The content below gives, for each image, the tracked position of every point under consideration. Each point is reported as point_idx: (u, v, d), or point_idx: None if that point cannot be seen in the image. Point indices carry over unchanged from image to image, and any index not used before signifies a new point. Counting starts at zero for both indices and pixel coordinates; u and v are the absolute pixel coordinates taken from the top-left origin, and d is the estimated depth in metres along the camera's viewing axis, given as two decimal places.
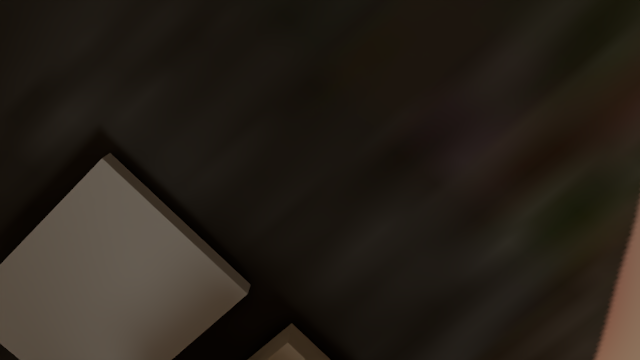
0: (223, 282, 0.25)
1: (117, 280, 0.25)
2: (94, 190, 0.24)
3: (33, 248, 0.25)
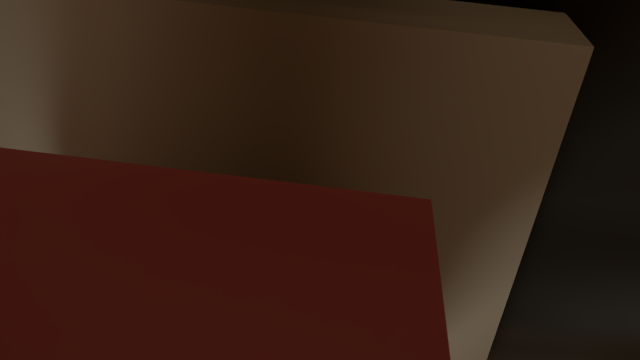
0: None
1: None
2: None
3: None
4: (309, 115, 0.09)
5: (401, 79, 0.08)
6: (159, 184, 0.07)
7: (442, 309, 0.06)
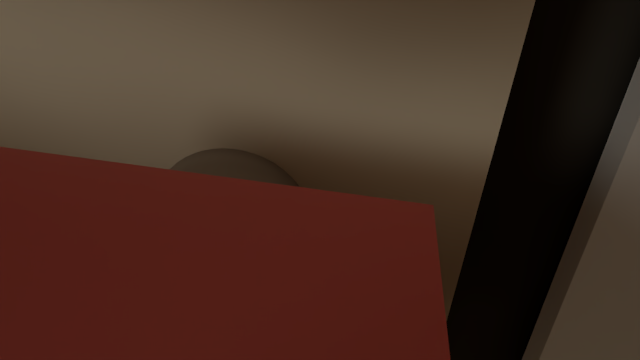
0: None
1: None
2: None
3: None
4: None
5: None
6: (162, 186, 0.07)
7: (443, 314, 0.06)
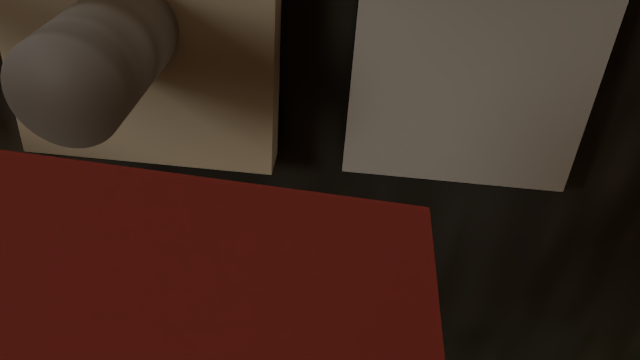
0: (371, 165, 0.22)
1: (476, 89, 0.20)
2: (555, 160, 0.21)
3: (593, 55, 0.19)
4: (228, 75, 0.20)
5: (250, 111, 0.20)
6: (158, 188, 0.07)
7: (438, 317, 0.06)
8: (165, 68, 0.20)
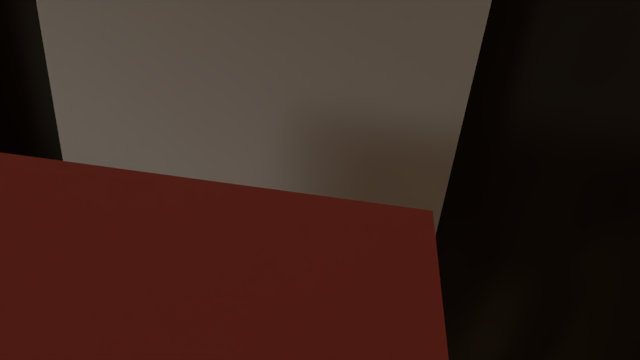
0: None
1: None
2: None
3: (418, 201, 0.12)
4: None
5: None
6: (161, 192, 0.07)
7: (442, 321, 0.06)
8: None
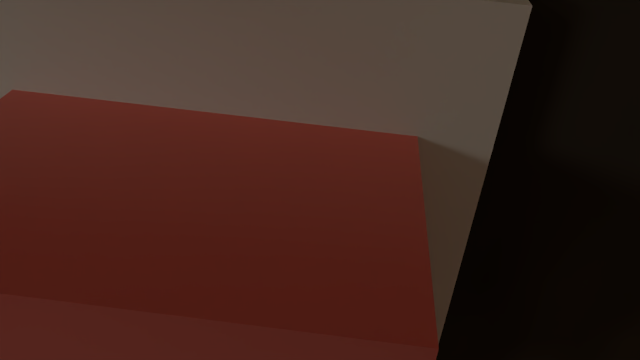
0: None
1: None
2: None
3: None
4: None
5: None
6: (193, 122, 0.08)
7: (423, 208, 0.07)
8: None
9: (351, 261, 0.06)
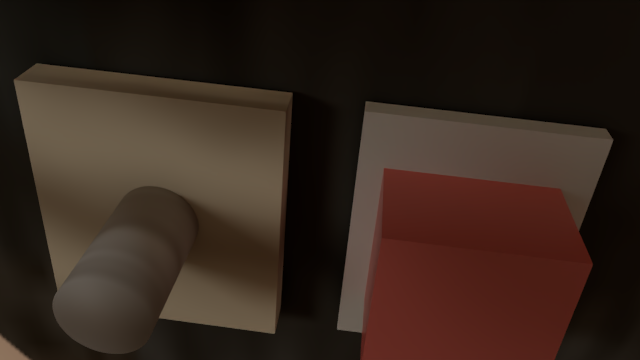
0: (362, 326, 0.25)
1: None
2: None
3: None
4: (239, 259, 0.23)
5: (257, 286, 0.23)
6: (467, 183, 0.20)
7: (573, 219, 0.19)
8: None
9: (555, 238, 0.18)
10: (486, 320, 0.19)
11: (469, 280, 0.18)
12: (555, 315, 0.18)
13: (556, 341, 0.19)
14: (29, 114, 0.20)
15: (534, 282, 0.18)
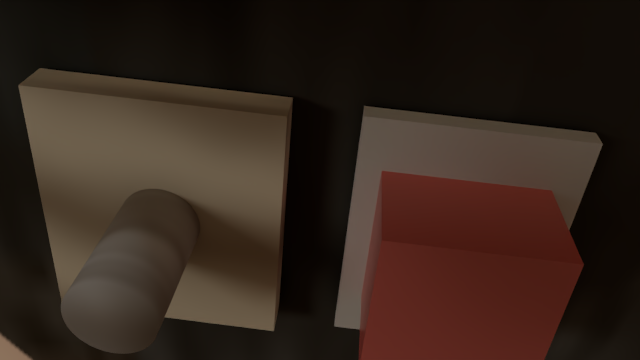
0: (359, 323, 0.25)
1: None
2: None
3: None
4: (239, 259, 0.23)
5: (257, 285, 0.24)
6: (462, 185, 0.21)
7: (564, 221, 0.20)
8: None
9: (547, 239, 0.19)
10: (481, 318, 0.19)
11: (465, 280, 0.18)
12: (547, 313, 0.19)
13: (548, 337, 0.19)
14: (33, 118, 0.21)
15: (527, 282, 0.18)
